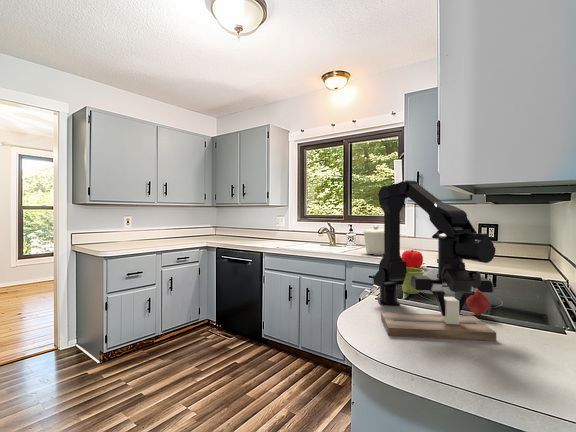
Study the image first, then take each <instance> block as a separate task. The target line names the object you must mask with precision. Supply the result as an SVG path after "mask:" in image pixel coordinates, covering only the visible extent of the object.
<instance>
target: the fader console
mask: <svg viewBox="0 0 576 432" xmlns="http://www.w3.org/2000/svg"><path fill="white" fill-rule="evenodd" d="M380 319H381V322H382V324H383V326H384V329H385V331H386V334H387V336H392V337H407V338H408V337H409V338H410V337H411V338H412V337H413V338H430V339H431V338H432V339H446V340H447V339H451V340H469V341H471V340H472V341H492V342H497V332H496V331H495V330H493V329H492V328H491V327H489V326H488V325H487V324H486V323H484V322H483V321H481V320H480V319H478V317H476V315H475V316H474V315H460V314H459V324H446V323H445V322H444V321H443V320H442V319H441V314H437V313H435V314H434V313H413V312H411V313H410V312H409V313H407V312H390V311H389V312H380Z"/></svg>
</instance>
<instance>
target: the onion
mask: <svg viewBox="0 0 576 432" xmlns="http://www.w3.org/2000/svg"><path fill="white" fill-rule="evenodd" d="M473 292H475V295H471V296H470V297H468V298H467V300H466V301H465V303H466V306H467V308H468V309H469V310H470V311H471V312H472V313H473V314H474V315H475V316H481V315H482V314H484V313H485V312H486V311H488V310H489V308H490V302H489V299H488V297H487V296H486V295H485V294H484V292H480V291H479V290H478V289H477V288H475V290H473Z"/></svg>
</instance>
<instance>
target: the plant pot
mask: <svg viewBox="0 0 576 432" xmlns="http://www.w3.org/2000/svg"><path fill="white" fill-rule="evenodd" d="M406 269H407V273H406V277H405V279H404V283H403V285H401V289H402V293H407V294H409V295H417V294H420V291H421V290H415V289H414V288H413V287H412V286H411V277H412V276H413V275H419V276H424V273H425V269H421V268H407V267H406Z"/></svg>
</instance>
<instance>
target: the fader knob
mask: <svg viewBox="0 0 576 432" xmlns="http://www.w3.org/2000/svg"><path fill="white" fill-rule="evenodd" d="M444 304H445V316H442V314H440V315H441V319H442V320H443V321H444V322H445V323H446V324H459V315H460V314H459V301H458V300H457V299H456V298H455V296H444Z"/></svg>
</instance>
